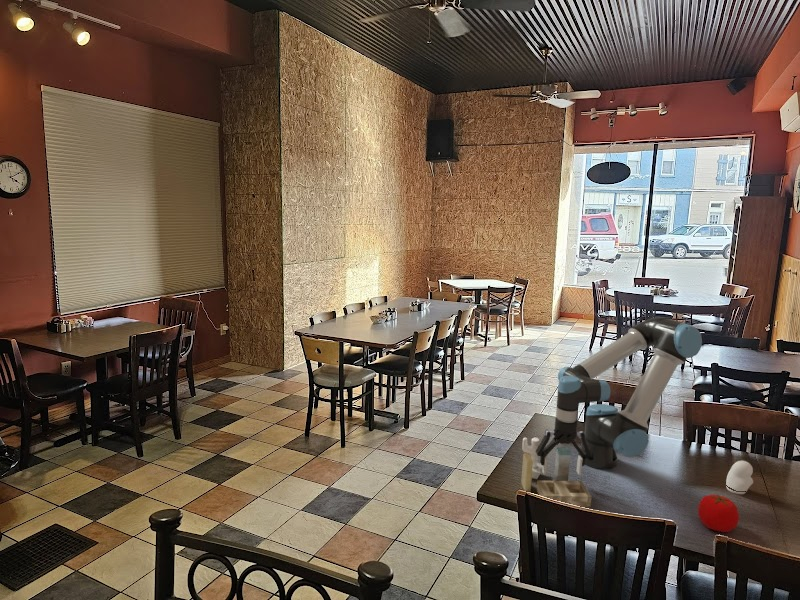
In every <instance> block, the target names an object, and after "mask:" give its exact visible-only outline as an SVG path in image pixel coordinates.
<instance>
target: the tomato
mask: <svg viewBox="0 0 800 600" xmlns="http://www.w3.org/2000/svg"><path fill="white" fill-rule="evenodd" d="M697 508H698V510H697V513H698V517H699V520H700V521H701V523H702V524H703V525H704V526H705V527H706V528H708V529H711V530H713V531H716V530H717V531H716V532H719V533H726V532H727V533H728V532H731V531H733V530H734V529H735V528H736V527H737V525H738V524H739V521H740V513H739V510H738V507H737V506H736V504H735V502H734V501H733V500H731V499H730V498H728V497H725V496H723V495H719V494H708V495H704V496H703V497H702V498H701V500H699V504H698V507H697ZM720 531H721V532H720Z"/></svg>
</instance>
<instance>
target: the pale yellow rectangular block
mask: <svg viewBox="0 0 800 600" xmlns="http://www.w3.org/2000/svg"><path fill="white" fill-rule="evenodd" d="M522 455H523V456H522V467H521V470H522V471H521V478H520V479H521V481H520V483H521V486H522V488H523V491H524V492H525V491H527V492H526V493H531V492H532V491H531V489H532V479H533V478H532V467H533V460H532V459H531V454H530V453H527V452H524V453H523V454H522Z"/></svg>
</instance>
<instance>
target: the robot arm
mask: <svg viewBox="0 0 800 600" xmlns="http://www.w3.org/2000/svg"><path fill="white" fill-rule="evenodd" d="M702 345H703V339H702V334H701V332H700V331H699V329H698V328H696V327H695V326H693V325H691V324H688V323H686V322H682V321H678V320H674V319H671V318H669V317H664V316H658V317H652V318H647V319H646V320H644V321H642V322H641V321H640V322H639V323H637V324H635V325H634V326H632V327H630V328H629V329H628V331H627V332H626V334H624V335H622V336H620V337H619V338H618V339H616V340H614V341H613V342H612V343H610V344H609V345H607V346H605V347H603V348H602V349H601V350H599V351H597V352H596V353H594V354H592V355H591V356H590V357H587V358H586V359H585V360H583V361H581V362H580V363H578V364H577V365H575V366H573V367H570V366H565V367H562V368H561V369H559V372H558V374H557V379H558V387H557V396H556V397H557V399H556V409H555V410H556V411H555V418H554V419H555V421H554V429H553V431H552V430H549V429H546V430H545V431H544V436H543V438H541V439H542V440H541V441H540V442H539V446H538V448H537V450H536V453H537V455H538V457H540V458H539V462H540V464H541V465H542V472H541V473H542V474H543V475H547V466H548V465H547V464H548V455H549V454H550V453H551V451H553V450H554V449H555V448H556V447H557V446H558V445H559V444H561V445H563V444H566V445H569V444H570V443H571V444H572V445H573V447H574V448H575V449H576V451H577V462H576V473H577V475H578V476H582V470H583V469H582V467H584V466H585V465H586V466H589V467H592V468H596V469H604V470H605V469H613V468H615V467H617V465H618V454H621V455H622V456H624V457H626V458H633V457H636V456H638V455H641V454H642V453H643V452H644V451H645V450H646V449H647V448H648V445H649V435H648V434H647V432H648V430H649V425H648V420H649V419H650V417H651V415H652V414H653V411H654V409H655V408H656V406H657V404H658V402H659V400H660V398H661V397H662V395H663V393H664V391H665V389H666V388H667V386H668V384H669V382H670V380H671V378H672V376H673V375H674V372H675V371H676V369H677V367H678V366H680V365H682V364H683V365H684V364H685V362H686V361H687V359H691V358H693V357H695V356H697V355H698V353H700V351H701V349H702ZM650 347H653V348H652V350H653V353H654V354H653V357H652V358H651V361H650V362H649V364H648V366H647V368H646V369H645V372H644V373H643V375H642V376H641V378H640V381H639V382H638V384H637V386H636V387H635V390H634V392H633V393H632V395H631V397H630V399H629V401H628V402H627V405H626V406H625V408H624V409H623V410H620V411H619V410H618V408H617V407H616V406H614V405H611V404H610V405H609V404H604V403H603V404H601V403H600V402H604V401H607V400H609V399H610V397H611V392H612V391H611V386H610V384H609V383H608V382H607V381H606V380H601V379H596V380H594V379H595V378H597V377H599V376H600V375H601V374H603V373H604V372H606V371H608V370H609V369H611V368H613V367H614V366H616V365H617V364H619V363H620V362H622V361H623V360H626V359H627V358H628V357H630V356H631V355H633V354H635V353H636V352H637V351H640V350H642V351H644V350H646V349H647V348H650ZM596 402H598V404H597V403H596ZM584 403H596V404H591V405H589V406H588V407H587V409H586V412H585V422H584V431H583V430H579V431H577V425H578V421H577V420H578V415H579V408H580V407H579V405H580V404H584ZM599 403H600V404H599ZM552 437H553V438H552ZM577 437H578V438H579V440H580V443H581V444H580V446H579V445H578V444H577V443H576V441H575V439H576V438H577ZM551 438H552V439H551ZM550 439H551V441H550ZM617 453H618V454H617ZM546 456H547V457H546Z"/></svg>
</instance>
